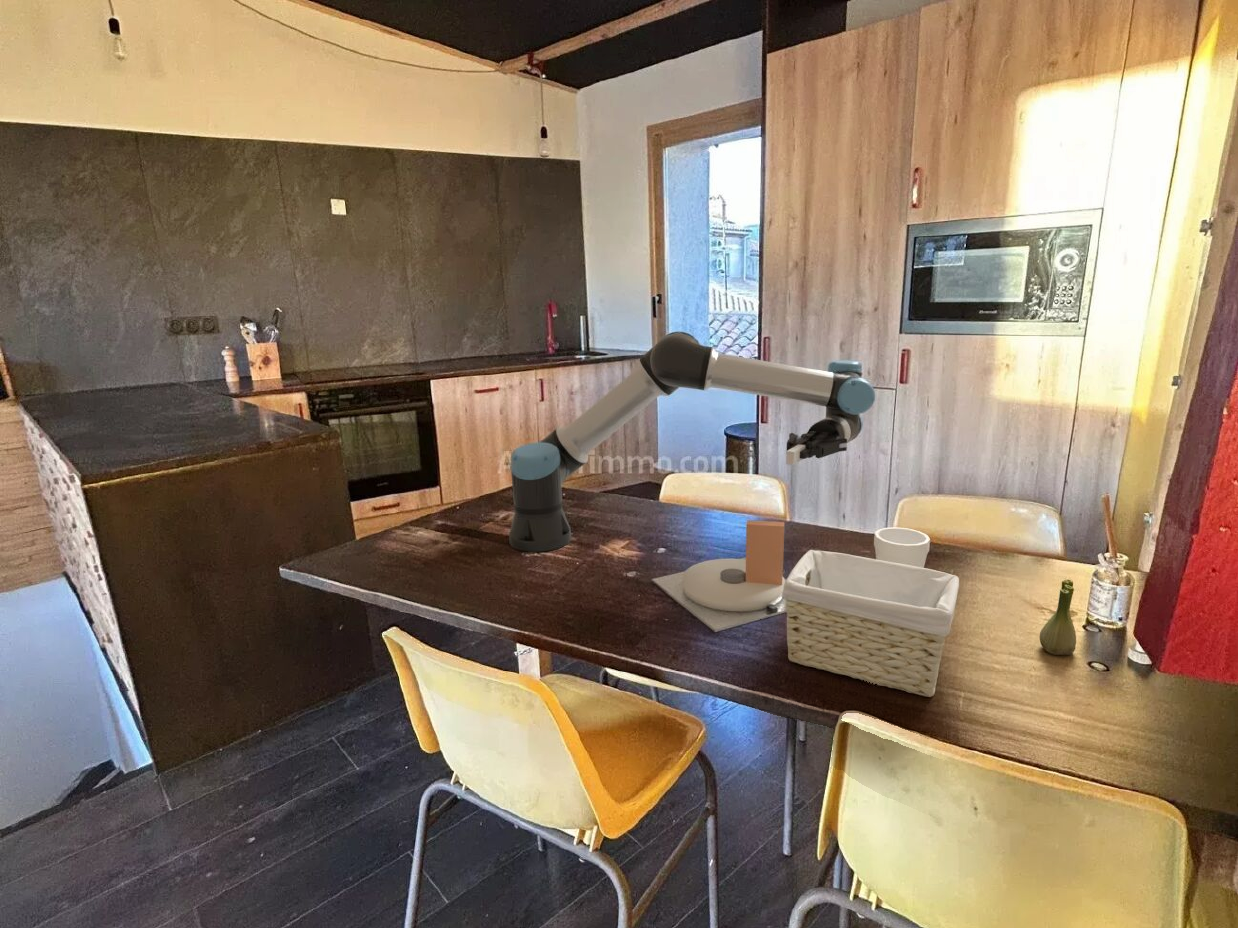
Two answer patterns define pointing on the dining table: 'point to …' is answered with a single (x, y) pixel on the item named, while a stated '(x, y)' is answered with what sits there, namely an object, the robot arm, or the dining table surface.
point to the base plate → (714, 616)
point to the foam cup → (901, 546)
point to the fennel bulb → (1060, 625)
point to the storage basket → (869, 619)
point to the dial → (742, 573)
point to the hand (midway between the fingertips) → (790, 458)
